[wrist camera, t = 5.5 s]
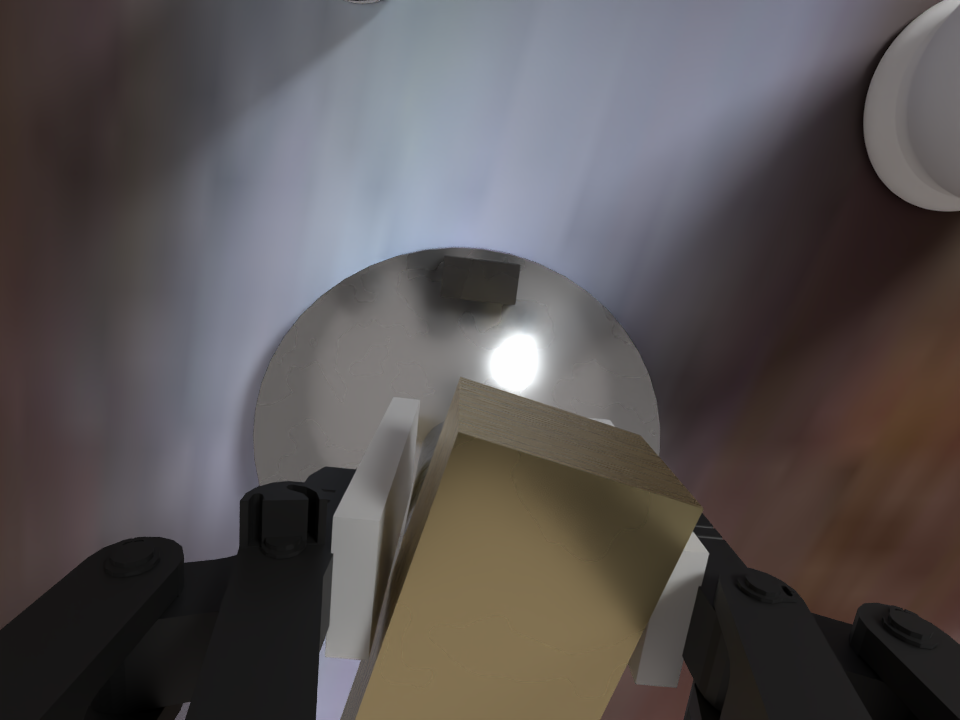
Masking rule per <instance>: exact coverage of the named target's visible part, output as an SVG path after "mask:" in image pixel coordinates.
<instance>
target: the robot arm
mask: <svg viewBox="0 0 960 720" xmlns="http://www.w3.org/2000/svg"><path fill="white" fill-rule="evenodd" d="M419 405H420V400H416V399H407V398H398V397H393V399H392V401H391V403H390V405H389V407H388V409H387V411H386V413H385V415H384V417H383V419H382V421H381V423H380V425H379V427H378V429H377V431H376V433H375V435H374V437H373V439H372V441H371V443H370V445H369V447H368V448H367V450H366V452H365V454H364V456H363V458H362V460H361V462H360V464H359V466H358V468H357V469H347V468H338V467H328V466H325V467H323V468H321V469H320V470H318V471H316V472H314V473H313V474H311V475H309V477H308V478H307V479H306V481H305V482H295V481H283V482H273V483H269V484H266V485H262V486H258V487H256V488H254V489H253V490H251V491H249V492H247V493H246V494H245V495H244V497H243V498H242V499H241V500H240V540H239V550H238V554H237V555H234V556H231V557H228V558H222V559H216V560H207V561H197V562H188V563H184V554H183V549H182V546H180V545H179V544H178V543H176V542H175V541H174V540H170V539H166V538H162V537H137V538H134V539H132V538H131V539H127V540H123V541H120V542H118V543H115V544H112V545H110V546H107V547H104V548H102V549H101V550H99V551H98V552H96V553H94V554H93V555H91V556H90V557H88V558H87V559H86V560H84V561H83V562H82V563H81V564H80V565H78V566H77V567H76V568H75V569H74V570H72V571H71V572H70V573H69V574H67V575H66V576H65V577H64V578H63V579H61V580H60V581H59V582H58V583H57V584H55V585H54V586H53V587H52V588H51V589H49V590H48V591H47V592H46V593H45V594H43V595H42V596H41V597H40V598H39V599H37V600H36V601H35V602H34V603H32V604H31V605H30V606H29V607H28V608H26V609H25V610H24V611H23V612H22V613H20V614H19V615H18V616H17V617H16V618H14V619H13V620H12V621H11V622H10V623H8V624H7V625H6V626H5V627H4V628H2V629H1V630H0V720H175V718H176V716H177V715H178V713H179V711H180V710H181V707H182V705H183V703H186V702H191V703H190V706H189V709H188V712H187V715H186V718H185V720H316V705H317V686H318V667H319V652H320V650H321V647H322V644H323V642H324V639H325V636H326V649H325V657H332V658H344V659H355V660H367V661H368V660H369V656H370V652H371V648H372V644H373V640H374V636H375V632H376V628H377V624H378V620H379V616H380V612H381V608H382V604H383V600H384V596H385V592H386V588H387V584H388V580H389V576H390V572H391V568H392V564H393V560H394V556H395V552H396V548H397V544H398V540H399V536H400V532H401V528H402V524H403V521H404V517H405V513H406V509H407V505H408V501H409V497H410V493H411V489H412V481H413V470H414V459H415V448H416V438H417V427H418V416H419ZM589 419H592V420H595V421H599V422H602V423H605V424H608V425H611V426H614V425H613V423H612V422H611V421H610V420H605V419H595V418H589ZM614 427H615V426H614ZM683 660H684V661H685V663H686V665H687V667H688V669H689V671H690V673H691V675H692V677H693V679H694V680H693V684H692V688H691V692H690V696H689V700H688V704H687V708H686V712H685V716H684V720H960V645H959V644H958V643H957V642H956V641H955V640H953V639H952V638H951V637H950V636H949V635H947V634H946V633H944V632H943V631H942V630H940V629H939V628H937V627H936V626H935V625H933V624H932V623H930V622H928V621H926V620H924V619H922V618H920V617H919V616H918V615H917V614H915V613H913V612H911V611H908V610H906V609H905V610H903V609H902V608H900V607H896V606H890V605H885V604H880V603H864V604H863V605H862V606H860V607H859V608H858V610H857V613H856V616H855V619H854V622H853V625H852V624H848V623H845V622H841V621H838V620H834V619H831V618H827V617H824V616H820V615H817V614H814V613H811V612H810V611H809V609H808V607H807V605H806V604H805V602H804V600H803V599H802V598H801V597H800V596H799V594H798V593H797V592H796V591H795V590H794V589H793V588H791V587H790V586H788V585H787V584H786V583H784V582H783V581H781V580H779V579H777V578H775V577H773V576H771V575H769V574H767V573H764V572H761V571H758V570H755V569H752V568H747V567H746V565H745V564H744V563H743V562H742V561H741V559H740V558H739V557H738V556H737V554H736V553H735V552H734V551H733V550H732V548H731V547H730V546H729V545H728V544H727V542H726V541H725V540H722V536H721V535H720V534H719V533H718V532H717V530H716V529H713V526H712V524H711V523H710V522H709V521H708V519H707V518H706V517H705V516H704V515H703V513H701V515H700V517H699V520H698V522H697V524H696V526H695V528H694V530H693V532H692V534H691V536H690V538H689V540H688V542H687V544H686V546H685V548H684V550H683V552H682V554H681V556H680V558H679V560H678V562H677V564H676V566H675V568H674V570H673V572H672V574H671V576H670V578H669V580H668V583H667V585H666V587H665V589H664V591H663V593H662V595H661V597H660V599H659V601H658V603H657V605H656V607H655V609H654V611H653V613H652V615H651V617H650V619H649V621H648V623H647V625H646V627H645V629H644V631H643V633H642V635H641V637H640V639H639V641H638V643H637V646H636V648H635V650H634V652H633V654H632V656H631V658H630V660H629V662H628V665H629V668H630V671H631V674H632V676H633V679H634V682H635V684H641V685H653V686H664V687H675V688H677V685H678V681H679V676H680V672H681V668H682V664H683Z"/></svg>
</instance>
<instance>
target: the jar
mask: <svg viewBox="0 0 960 720" xmlns="http://www.w3.org/2000/svg"><path fill="white" fill-rule="evenodd" d="M863 129H864V140H865V145H866V149H867V153H868V156H869V159H870V162H871V164H872V166H873V168H874V170H875V171H876V173H877V175H878V176H879V178H880V179H881V180H882V182H883V183H884V184H885V185H886V186H887V187H888V188H889V189H890V190H891V191H892V192H893V193H894V194H896V195H897V196H898V197H900V198H901V199H903V200H905V201H906V202H908V203H911V204H913V205H915V206H918V207H921V208H924V209H929V210H935V211H960V0H944V1H942V2H940V3H938V4H936V5H934V6H933V7H931V8H929V9H928V10H926V11H925V12H924V13H922V14H921V15H919V16H918V17H917V18H916V19H914V20H913V21H912V22H911V23H910V24H909V25H908V26H907V27H906V28H905V29H904V30H903V31H902V32H901V33H900V34H899V35H898V36H897V37H896V39H895V40H894V41H893V42H892V44H891V45H890V47H889V48H888V49H887V51H886V52H885V54H884V55H883V57H882V59H881V61H880V63H879V64H878V66H877V69H876V71H875V73H874V75H873V77H872V80H871V83H870V86H869V89H868V93H867V96H866V101H865V107H864V117H863Z"/></svg>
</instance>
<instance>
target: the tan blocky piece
mask: <svg viewBox="0 0 960 720" xmlns="http://www.w3.org/2000/svg"><path fill="white" fill-rule="evenodd" d="M702 511H703V508H702V506H701V505H700V504H699V503H698V502H697V501H696V499H695V498H694V497H693V496H692V495H691V494H690V492H689V491H688V490H687V489H686V488H685V487H684V485H683V484H682V483H681V482H680V481H679V480H678V478H677V477H676V476H675V475H674V474H673V473H672V471H671V470H670V469H669V468H668V467H667V465H666V464H665V463H664V462H663V461H662V460H661V458H660V457H659V456H658V455H657V454H656V453H655V451H654V450H653V449H652V448H651V447H650V446H649V444H648V443H647V442H646V441H645V440H644V439H643V437H642V436H641V435H638V434H635V433H632V432H629V431H626V430H623V429H620V428H617V427H614V426H611V425H608V424H605V423H602V422H599V421H595V420H592V419H589V418H586V417H583V416H580V415H577V414H574V413H571V412H568V411H565V410H562V409H559V408H556V407H553V406H549V405H546V404H543V403H540V402H537V401H534V400H531V399H528V398H525V397H522V396H519V395H516V394H513V393H510V392H506V391H503V390H500V389H497V388H494V387H491V386H488V385H485V384H482V383H479V382H476V381H473V380H470V379H467V378H463V377H460V379H459V382H458V385H457V388H456V390H455V393H454V396H453V399H452V402H451V405H450V408H449V410H448V413H447V416H446V419H445V422H444V425H443V428H442V430H441V433H440V436H439V439H438V442H437V445H436V448H435V450H434V453H433V456H432V459H431V462H430V465H429V468H428V470H427V473H426V476H425V479H424V482H423V485H422V488H421V490H420V493H419V496H418V499H417V502H416V505H415V508H414V510H413V513H412V516H411V519H410V522H409V525H408V528H407V530H406V533H405V535H404V537H403V540H402V544H401V548H400V550H399V553H398V556H397V559H396V562H395V565H394V568H393V570H392V573H391V576H390V579H389V582H388V585H387V588H386V592H385V596H384V600H383V604H382V608H381V612H380V616H379V620H378V624H377V628H376V632H375V636H374V640H373V644H372V648H371V652H370V656H369V660H368V661H367V660H361V662H360V665H359V668H358V670H357V673H356V676H355V679H354V682H353V685H352V688H351V690H350V693H349V696H348V699H347V702H346V705H345V708H344V710H343V713H342V716H341V719H340V720H600V719H601V717H602V715H603V713H604V711H605V709H606V706H607V704H608V702H609V700H610V698H611V696H612V694H613V692H614V690H615V688H616V686H617V684H618V682H619V680H620V678H621V676H622V674H623V672H624V670H625V668H626V666H627V664H628V662H629V660H630V658H631V656H632V654H633V652H634V650H635V648H636V646H637V643H638V641H639V639H640V637H641V635H642V633H643V631H644V629H645V627H646V625H647V623H648V621H649V619H650V617H651V615H652V613H653V611H654V609H655V607H656V605H657V603H658V601H659V599H660V597H661V595H662V593H663V591H664V589H665V587H666V585H667V583H668V580H669V578H670V576H671V574H672V572H673V570H674V568H675V566H676V564H677V562H678V560H679V558H680V556H681V554H682V552H683V550H684V548H685V546H686V544H687V542H688V540H689V538H690V536H691V534H692V532H693V530H694V528H695V526H696V524H697V522H698V520H699V517H700V515H701V513H702Z"/></svg>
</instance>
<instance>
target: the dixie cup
mask: <svg viewBox="0 0 960 720" xmlns="http://www.w3.org/2000/svg"><path fill="white" fill-rule="evenodd" d="M345 1H348V2H352V3H362V4H365V3H373V2H378V1H381V0H345Z"/></svg>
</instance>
